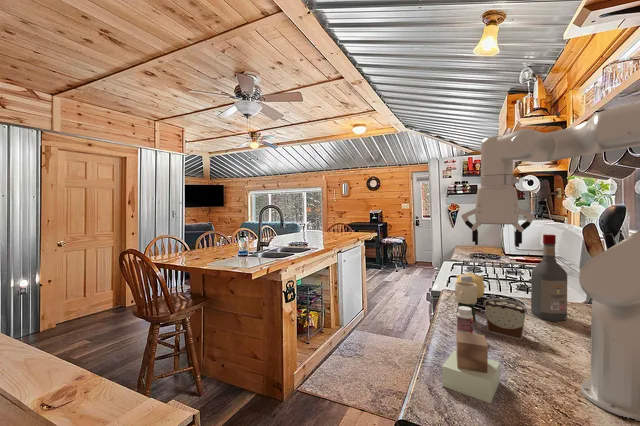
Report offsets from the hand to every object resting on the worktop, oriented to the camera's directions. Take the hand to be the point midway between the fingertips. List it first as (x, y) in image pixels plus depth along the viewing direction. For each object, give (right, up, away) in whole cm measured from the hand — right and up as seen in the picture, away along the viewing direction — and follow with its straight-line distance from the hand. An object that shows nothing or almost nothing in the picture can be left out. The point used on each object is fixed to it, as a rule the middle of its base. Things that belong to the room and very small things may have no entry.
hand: (496, 245), depth 84 cm
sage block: (-13, -31, -12) cm, 36 cm away
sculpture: (+18, -29, +52) cm, 63 cm away
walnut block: (-13, -26, -13) cm, 32 cm away
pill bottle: (-2, -30, +14) cm, 33 cm away
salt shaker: (+10, -29, +38) cm, 49 cm away
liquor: (+35, -29, +28) cm, 54 cm away
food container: (+12, -30, +15) cm, 36 cm away
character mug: (+4, -30, +26) cm, 40 cm away
